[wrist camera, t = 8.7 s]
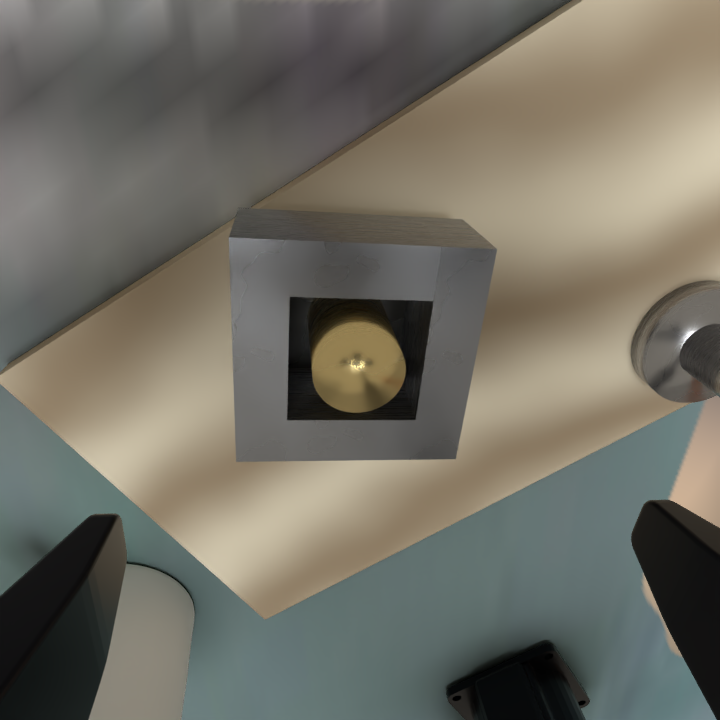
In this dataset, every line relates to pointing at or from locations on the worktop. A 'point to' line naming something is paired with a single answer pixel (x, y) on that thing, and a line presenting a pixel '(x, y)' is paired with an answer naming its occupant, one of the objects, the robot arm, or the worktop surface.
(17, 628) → the robot arm
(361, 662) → the worktop surface
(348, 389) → the hub
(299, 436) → the grey square frame
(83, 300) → the worktop surface
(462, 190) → the board
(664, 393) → the stand
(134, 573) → the mug
